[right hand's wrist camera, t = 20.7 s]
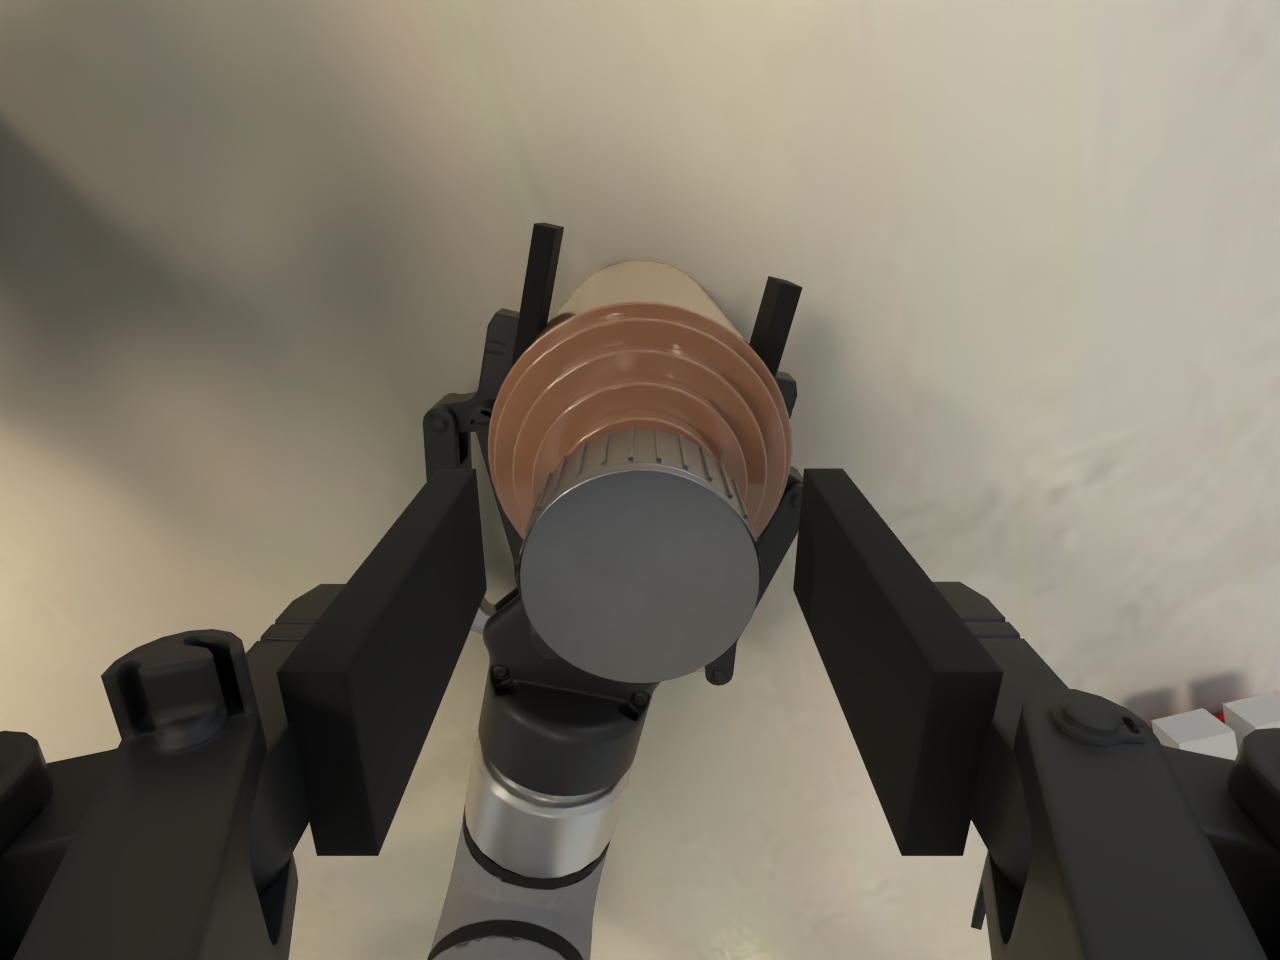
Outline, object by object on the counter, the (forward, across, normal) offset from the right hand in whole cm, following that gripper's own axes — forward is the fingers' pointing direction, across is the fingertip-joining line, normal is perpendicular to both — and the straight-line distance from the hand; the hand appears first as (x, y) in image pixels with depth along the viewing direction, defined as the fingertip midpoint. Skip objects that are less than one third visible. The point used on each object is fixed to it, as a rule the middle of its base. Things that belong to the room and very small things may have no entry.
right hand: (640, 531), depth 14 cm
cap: (-2, 0, 0) cm, 2 cm away
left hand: (+14, +1, +5) cm, 15 cm away
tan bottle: (+21, 0, 0) cm, 21 cm away
